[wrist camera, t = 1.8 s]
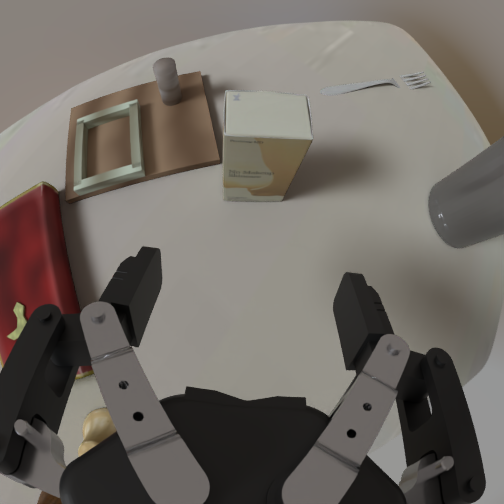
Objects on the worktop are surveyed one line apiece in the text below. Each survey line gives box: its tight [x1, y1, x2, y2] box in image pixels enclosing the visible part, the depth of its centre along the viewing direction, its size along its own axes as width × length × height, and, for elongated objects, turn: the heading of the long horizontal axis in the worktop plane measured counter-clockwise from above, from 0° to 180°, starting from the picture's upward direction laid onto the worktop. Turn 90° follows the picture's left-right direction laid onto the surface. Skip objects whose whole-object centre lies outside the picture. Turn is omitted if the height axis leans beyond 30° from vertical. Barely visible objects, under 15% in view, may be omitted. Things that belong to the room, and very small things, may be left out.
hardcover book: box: [0, 182, 94, 379], centre depth 25 cm, size 12×21×4 cm, turn 21°
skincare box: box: [223, 90, 313, 202], centre depth 24 cm, size 6×4×12 cm
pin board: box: [65, 58, 220, 204], centre depth 27 cm, size 18×14×7 cm
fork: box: [320, 72, 431, 95], centre depth 34 cm, size 3×24×2 cm, turn 112°
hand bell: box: [37, 408, 117, 504], centre depth 16 cm, size 8×8×16 cm
